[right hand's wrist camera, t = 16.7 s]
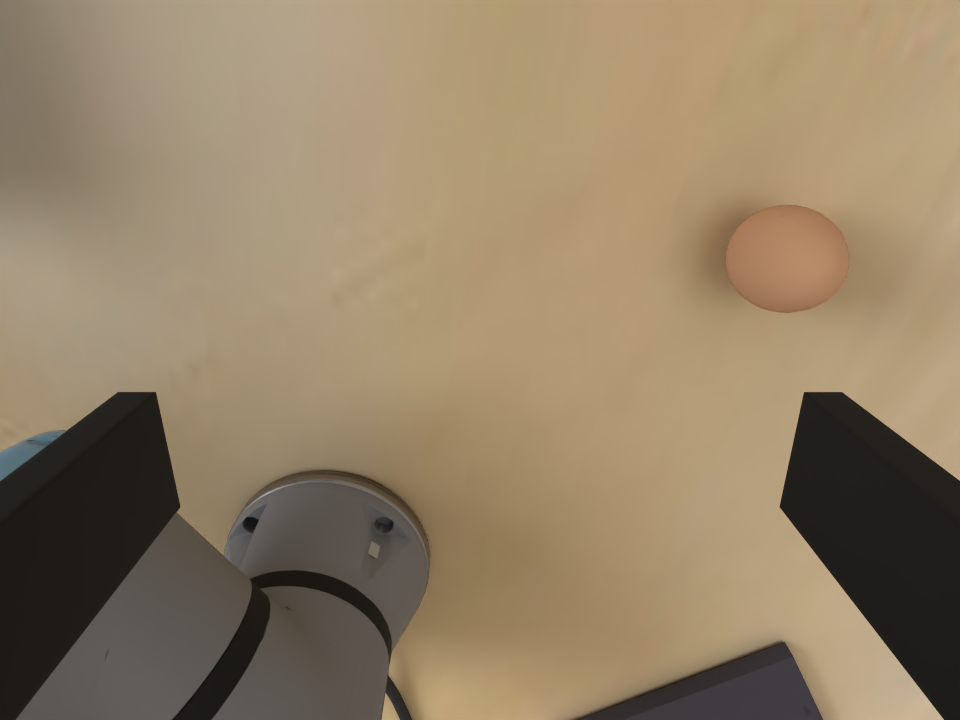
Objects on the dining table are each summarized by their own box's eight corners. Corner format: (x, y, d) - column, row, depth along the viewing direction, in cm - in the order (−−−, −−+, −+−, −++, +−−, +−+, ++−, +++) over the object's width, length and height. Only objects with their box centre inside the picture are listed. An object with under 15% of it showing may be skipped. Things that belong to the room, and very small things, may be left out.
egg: (713, 301, 40) (766, 343, 33) (703, 210, 38) (757, 233, 30) (806, 280, 39) (882, 317, 32) (802, 187, 37) (881, 204, 30)
